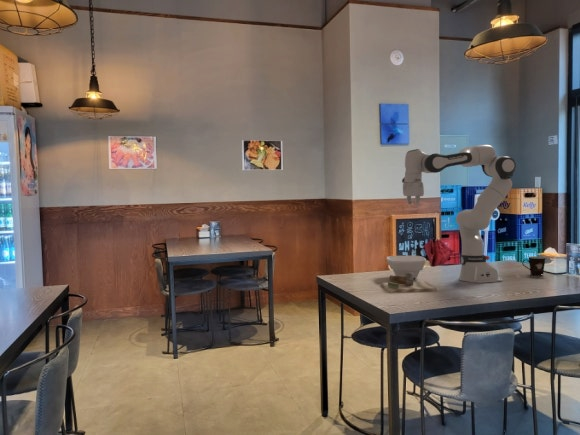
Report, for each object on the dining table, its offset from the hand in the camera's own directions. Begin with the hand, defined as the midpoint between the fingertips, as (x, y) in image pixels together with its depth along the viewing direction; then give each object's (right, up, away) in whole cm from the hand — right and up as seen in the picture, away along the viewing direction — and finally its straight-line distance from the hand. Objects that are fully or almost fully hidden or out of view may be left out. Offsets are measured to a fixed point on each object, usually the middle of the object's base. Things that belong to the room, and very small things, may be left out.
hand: (413, 204), depth 256 cm
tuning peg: (-9, -42, -11) cm, 45 cm away
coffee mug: (+75, -41, +17) cm, 87 cm away
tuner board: (-6, -44, -14) cm, 46 cm away
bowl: (0, -43, +16) cm, 45 cm away
